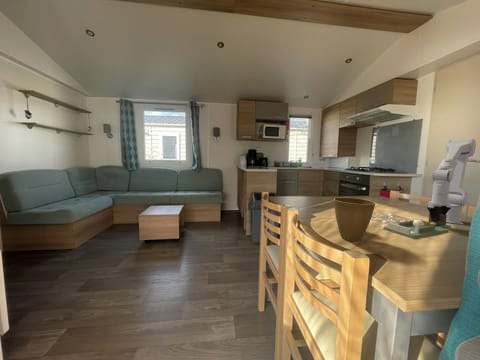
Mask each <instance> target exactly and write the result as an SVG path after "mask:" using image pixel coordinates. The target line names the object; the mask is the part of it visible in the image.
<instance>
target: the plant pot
mask: <svg viewBox="0 0 480 360" xmlns="http://www.w3.org/2000/svg"><path fill="white" fill-rule="evenodd" d="M333 205H334V214H335V219H336V225H337V229H338V232H339V234H340V237H341V238H342V239H343V240H346V241H349V242H350V241H351V242H360V241H362V239H363V238H364V236H365V234H366V232H367V229H368V227H369V224H370V222H371V220H372V217H373V213H374V209H375V206H376V201H375V202H374V201H372V200H368V199H364V198H357V197H343V196H342V197H334V198H333Z"/></svg>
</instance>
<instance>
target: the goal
mask: <svg viewBox="0 0 480 360" xmlns="http://www.w3.org/2000/svg"><path fill="white" fill-rule="evenodd" d="M400 222H401V218H396V219H395V223H393V222H388V224H387V227H388V228H389V229H392V230H395V231H399V232H402V233H405V234H408V235H411V233H419V227H420V224H416V226H415V232H412V231H411V228H407V227H404V226H400V225H399V223H400Z"/></svg>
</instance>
